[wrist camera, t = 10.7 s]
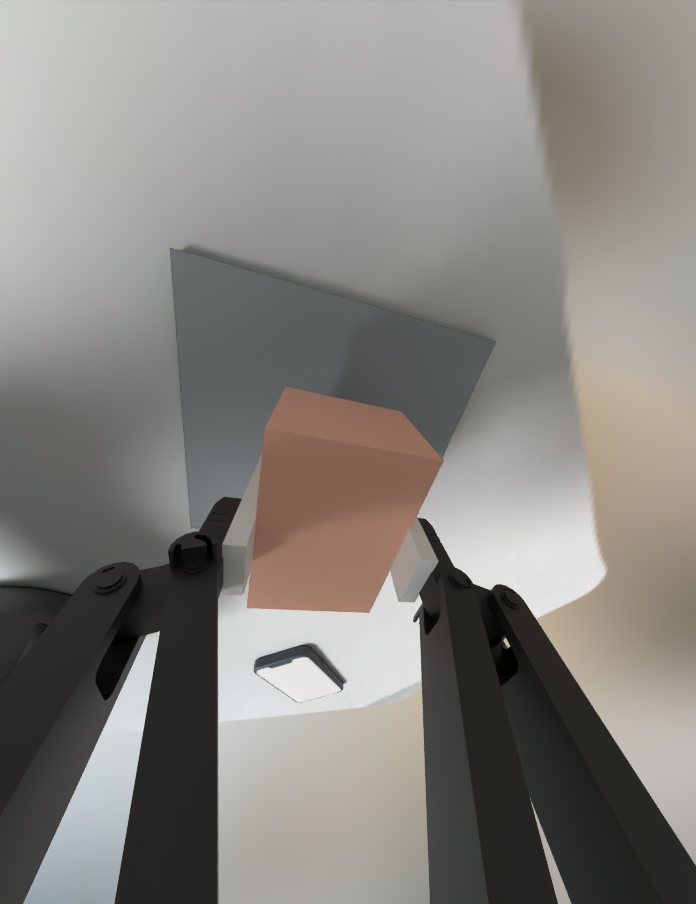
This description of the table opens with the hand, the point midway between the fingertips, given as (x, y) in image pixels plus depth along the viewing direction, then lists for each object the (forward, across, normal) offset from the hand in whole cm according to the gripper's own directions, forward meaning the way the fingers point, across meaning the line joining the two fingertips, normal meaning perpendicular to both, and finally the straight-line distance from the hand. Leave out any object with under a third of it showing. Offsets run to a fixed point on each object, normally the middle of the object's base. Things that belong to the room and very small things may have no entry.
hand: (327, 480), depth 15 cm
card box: (+1, 0, 0) cm, 1 cm away
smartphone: (+6, +4, -40) cm, 41 cm away
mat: (+5, 0, 0) cm, 5 cm away
